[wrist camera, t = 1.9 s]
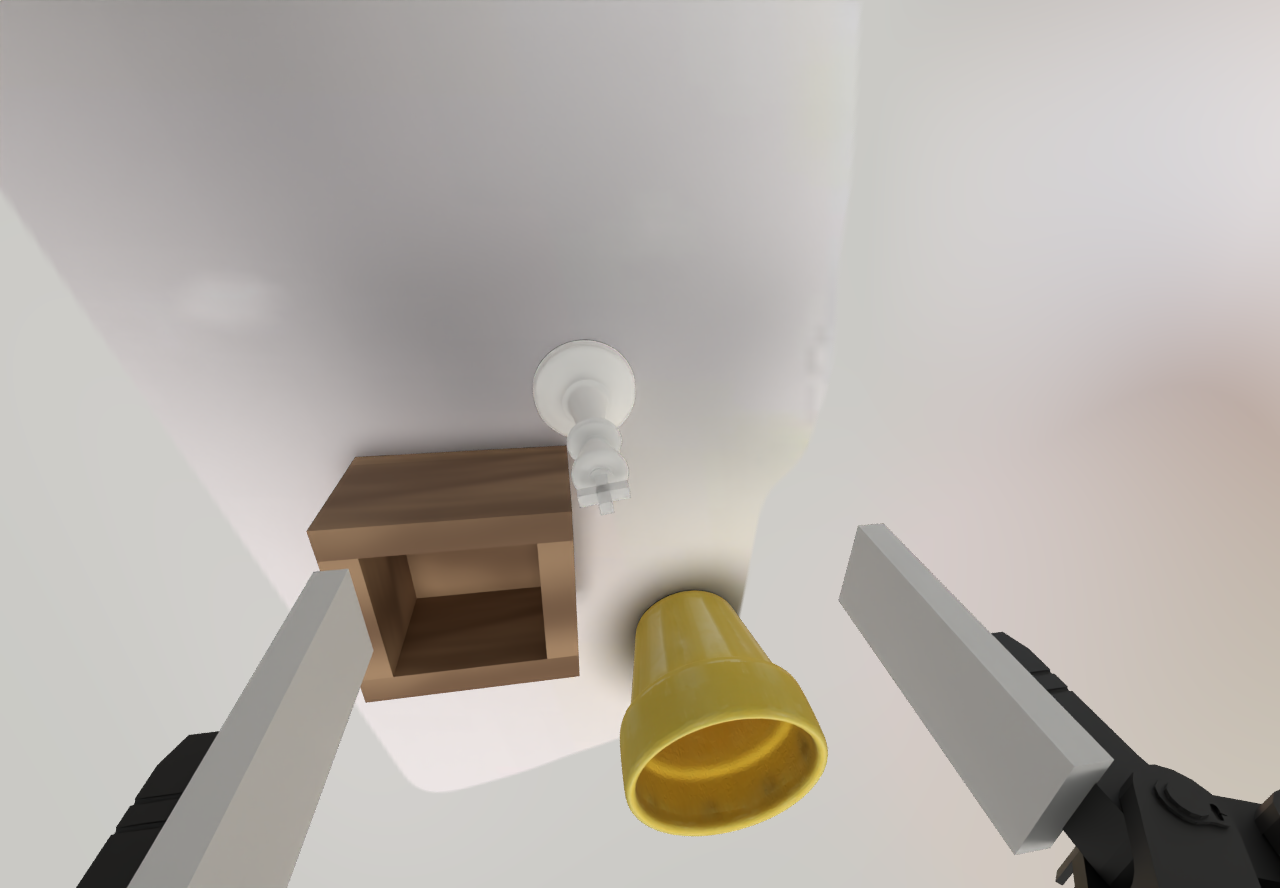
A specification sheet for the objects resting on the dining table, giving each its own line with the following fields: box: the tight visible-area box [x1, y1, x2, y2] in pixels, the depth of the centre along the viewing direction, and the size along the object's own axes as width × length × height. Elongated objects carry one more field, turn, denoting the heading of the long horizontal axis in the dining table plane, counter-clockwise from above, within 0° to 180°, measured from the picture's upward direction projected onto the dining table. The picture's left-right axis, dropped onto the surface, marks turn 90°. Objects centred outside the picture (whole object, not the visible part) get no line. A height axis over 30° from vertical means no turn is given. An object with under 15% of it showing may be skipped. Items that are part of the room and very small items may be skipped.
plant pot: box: [620, 591, 828, 836], centre depth 29 cm, size 10×10×10 cm
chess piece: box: [533, 340, 636, 515], centre depth 20 cm, size 5×5×10 cm
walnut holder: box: [307, 445, 579, 702], centre depth 25 cm, size 10×10×6 cm
